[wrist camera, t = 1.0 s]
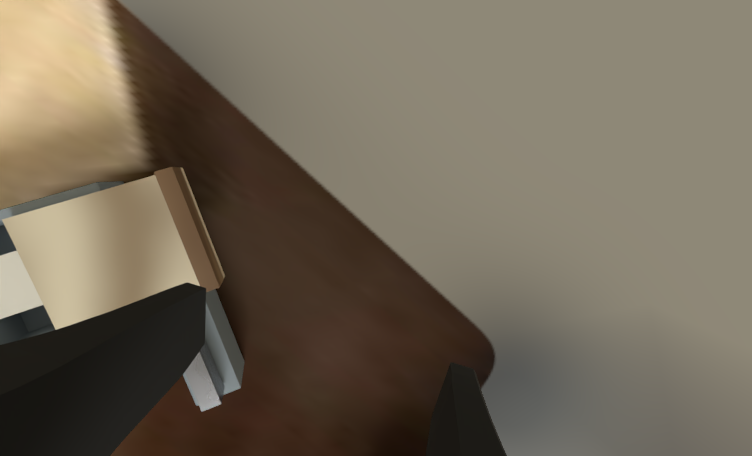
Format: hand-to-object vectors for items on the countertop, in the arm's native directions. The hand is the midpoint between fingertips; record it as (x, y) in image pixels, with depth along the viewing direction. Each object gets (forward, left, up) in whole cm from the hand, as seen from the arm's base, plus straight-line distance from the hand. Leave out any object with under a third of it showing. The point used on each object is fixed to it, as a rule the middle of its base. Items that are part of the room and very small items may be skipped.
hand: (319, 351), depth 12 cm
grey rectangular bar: (-6, -3, -12) cm, 14 cm away
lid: (-8, +4, -12) cm, 15 cm away
